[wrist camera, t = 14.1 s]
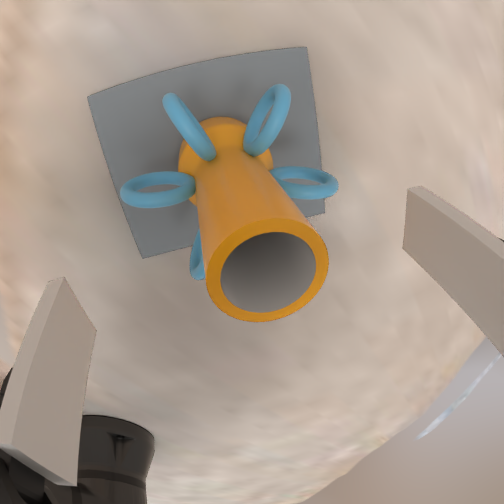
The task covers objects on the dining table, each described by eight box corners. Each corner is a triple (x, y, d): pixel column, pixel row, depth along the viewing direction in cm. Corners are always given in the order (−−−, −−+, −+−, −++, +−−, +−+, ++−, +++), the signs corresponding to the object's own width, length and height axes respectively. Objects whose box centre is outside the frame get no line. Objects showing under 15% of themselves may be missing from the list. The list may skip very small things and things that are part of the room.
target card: (143, 254, 26) (142, 258, 26) (89, 96, 18) (87, 96, 18) (322, 210, 27) (324, 212, 27) (303, 47, 20) (306, 46, 19)
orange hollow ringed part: (316, 180, 25) (431, 296, 13) (209, 249, 27) (239, 408, 14) (235, 48, 18) (323, 8, 6) (114, 133, 20) (19, 232, 7)
